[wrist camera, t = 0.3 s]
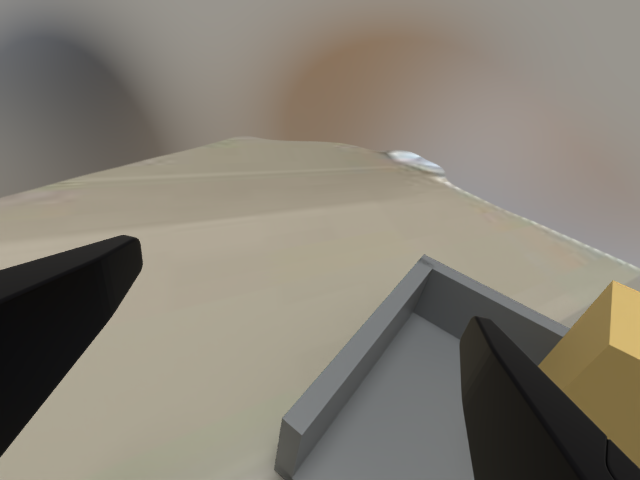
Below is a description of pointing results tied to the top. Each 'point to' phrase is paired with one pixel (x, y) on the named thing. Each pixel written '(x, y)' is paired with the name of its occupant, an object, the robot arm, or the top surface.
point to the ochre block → (604, 366)
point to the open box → (403, 384)
